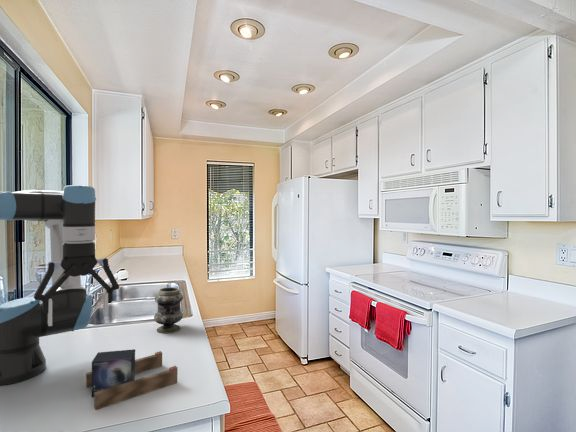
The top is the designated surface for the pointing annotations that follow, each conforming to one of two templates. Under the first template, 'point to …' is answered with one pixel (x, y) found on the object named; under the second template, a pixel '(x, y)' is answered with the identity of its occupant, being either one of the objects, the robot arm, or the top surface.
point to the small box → (112, 369)
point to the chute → (135, 382)
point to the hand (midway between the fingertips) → (79, 319)
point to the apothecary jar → (168, 309)
